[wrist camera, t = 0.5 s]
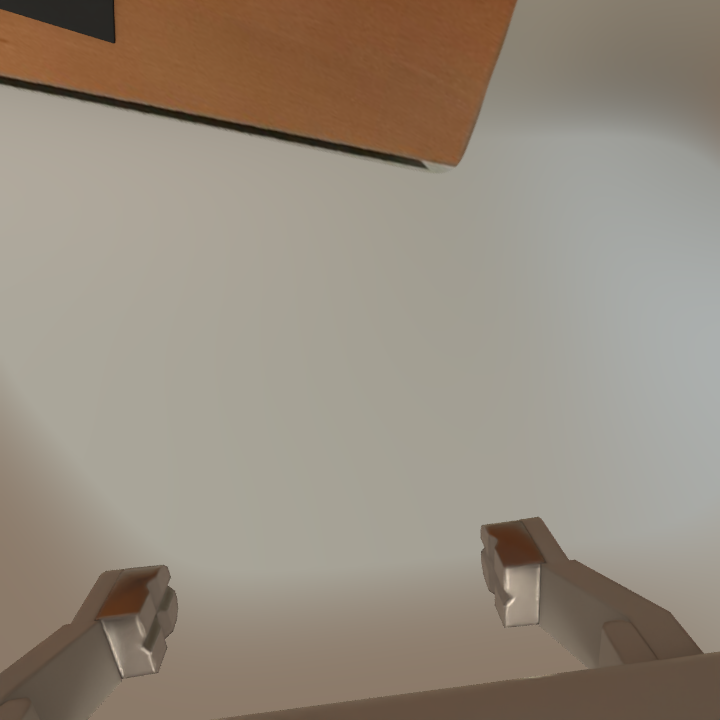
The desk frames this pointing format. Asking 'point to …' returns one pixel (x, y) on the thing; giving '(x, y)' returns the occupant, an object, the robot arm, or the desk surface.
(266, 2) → the desk surface
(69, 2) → the desk mat
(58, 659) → the robot arm
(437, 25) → the desk surface
